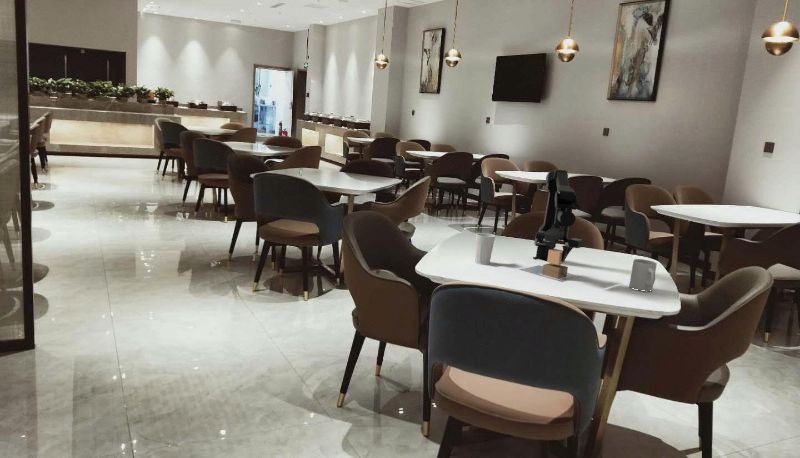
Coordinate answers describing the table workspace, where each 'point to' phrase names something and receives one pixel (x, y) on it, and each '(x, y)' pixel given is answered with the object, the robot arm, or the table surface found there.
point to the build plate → (538, 271)
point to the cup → (484, 248)
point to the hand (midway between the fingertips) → (556, 260)
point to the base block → (554, 270)
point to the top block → (555, 257)
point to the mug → (643, 274)
